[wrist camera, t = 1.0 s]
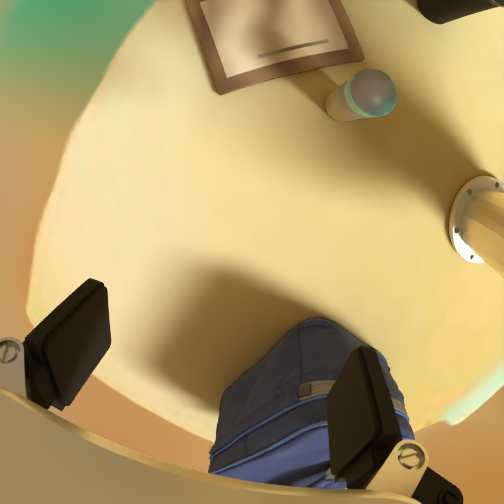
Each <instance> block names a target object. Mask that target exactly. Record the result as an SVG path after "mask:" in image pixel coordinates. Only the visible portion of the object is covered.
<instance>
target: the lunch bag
mask: <svg viewBox="0 0 504 504" xmlns="http://www.w3.org/2000/svg"><path fill="white" fill-rule="evenodd" d="M359 346H365V347H370V346H368V345H366V344H365V343H363V342H362V341H360V340H359V339H357V338H356V337H354V336H353V335H352V334H350V333H349V332H348V331H346V330H345V329H343V328H342V327H341V326H339V325H337V324H336V323H334V322H332V321H329V320H326V319H319V318H318V319H310V320H306V321H304V322H302V323H300V324H298V325H297V326H295V327H294V328H293V329H292V330H290V331H289V332H288V333H287V334H286V335H285V336H284V337H283V338H282V339H281V340H280V341H279V342H278V343H277V344H276V345H275V347H274V348H273V349H272V350H271V351H270V352H269V353H268V354H267V355H266V356H265V357H264V358H263V359H262V360H260V361H259V362H258V363H257V364H256V365H255V366H254V367H252V368H251V369H249V370H248V371H247V372H246V373H245V374H244V375H243V376H242V377H241V378H239V379H238V380H237V381H236V382H235V383H234V384H233V385H232V386H230V387H229V388H228V389H227V390H226V391H225V392H224V393H223V396H222V399H221V403H220V413H219V418H218V424H217V429H216V441H215V444H214V446H212V448H211V450H210V452H209V454H211V455H210V458H209V459H210V465H209V470H208V473H210V474H215V475H219V476H224V477H229V478H235V479H240V480H246V481H252V482H259V483H266V484H274V485H283V486H294V487H307V488H325V489H344V488H347V485H346V482H343V483H340V482H335V475H332V474H331V471H330V453H329V438H328V425H327V413H326V397H327V394H328V393H329V391H330V389H331V388H332V386H333V384H334V382H335V381H336V379H337V377H338V376H339V374H340V372H341V370H342V368H343V367H344V365H345V363H346V361H347V359H348V358H349V356H350V354H351V352H352V350H353V349H357V348H358V347H359ZM376 353H377V356H378V359H379V362H380V365H381V368H382V372H383V375H384V378H385V381H386V384H387V386H388V388H389V392H390V395H391V398H392V402H393V405H394V409H395V412H396V416H397V420H398V423H399V427H400V431H401V434H402V438H403V440H408V439H409V440H414V441H415V438H414V433H413V430H412V428H411V426H410V424H409V417H408V415H407V412H406V409H405V405H404V397H403V394H402V393H401V392H400V390H399V389H398V386H397V384H396V382H395V381H394V379H393V378H392V376H391V374H390V368H389V367H388V365H387V361H386V359H385V357H384V356H383V355H382V354H380V353H379V352H378V351H376Z"/></svg>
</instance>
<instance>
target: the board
mask: <svg viewBox="0 0 504 504" xmlns="http://www.w3.org/2000/svg"><path fill="white" fill-rule="evenodd" d="M185 1H186V3H187V6H188V9H189V12H190V15H191V17H192V20H193V23H194V26H195V29H196V31H197V34H198V37H199V40H200V43H201V46H202V49H203V51H204V54H205V57H206V60H207V63H208V66H209V69H210V72H211V75H212V78H213V80H214V83H215V86H216V89H217V92H218V94H219V95H223V94H226V93H229V92H232V91H235V90H238V89H241V88H245V87H248V86H251V85H254V84H258V83H261V82H265V81H268V80H272V79H276V78H280V77H283V76H287V75H291V74H296V73H300V72H304V71H309V70H313V69H318V68H323V67H328V66H334V65H339V64H345V63H352V62H358V61H363V60H364V59H365V58H364V55H363V53H362V50H361V47H360V45H359V42H358V40H357V37H356V35H355V32H354V30H353V28H352V25H351V23H350V21H349V18H348V16H347V14H346V12H345V9H344V7H343V5H342V3H341V1H340V0H185Z"/></svg>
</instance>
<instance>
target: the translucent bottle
mask: <svg viewBox="0 0 504 504" xmlns="http://www.w3.org/2000/svg"><path fill="white" fill-rule="evenodd" d="M396 102H397V90H396V87H395V85H394V83H393V81H392V80H391V79H390V77H388V76H387V75H386V74H385V73H383V72H382V71H379V70H376V69H363V70H361V71H359V72H357V73H356V74H355V75H353V76H352V77H351V78H350V79H349V80H348V81H346V82H345V83H344V84H342V85H341V86H340V87H338V88H337V89H336V90H335V91H333V92H332V93H331V94H329V95H328V97H327V98H326V101H325V108H326V111H327V113H328V115H329V116H330V117H331V118H333V119H334V120H336V121H340V122H344V121H350V120H356V119H362V118H372V117H379V116H384V115H387V114H388V113H390V112H391V111H392V110H393V109H394V107H395V105H396Z"/></svg>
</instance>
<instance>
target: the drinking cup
mask: <svg viewBox="0 0 504 504" xmlns="http://www.w3.org/2000/svg"><path fill="white" fill-rule="evenodd" d="M417 4H418V8H419V10H420V11H421V13H422V14H423V15H424V16H425V17H426V18H427V19H428V20H430V21H431V22H433V23H436V24H444V23H446V22H449V21H452V20H455V19H458V18H461V17H464V16H467V15H471V14H474V13H477V12H481V11H484V10H488V9H491V8H495V7H499V6H500V7H504V0H417Z"/></svg>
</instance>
